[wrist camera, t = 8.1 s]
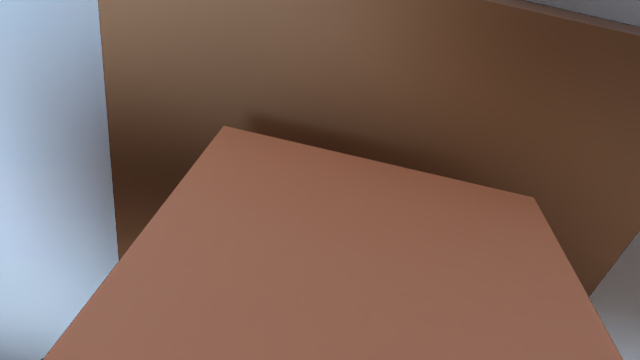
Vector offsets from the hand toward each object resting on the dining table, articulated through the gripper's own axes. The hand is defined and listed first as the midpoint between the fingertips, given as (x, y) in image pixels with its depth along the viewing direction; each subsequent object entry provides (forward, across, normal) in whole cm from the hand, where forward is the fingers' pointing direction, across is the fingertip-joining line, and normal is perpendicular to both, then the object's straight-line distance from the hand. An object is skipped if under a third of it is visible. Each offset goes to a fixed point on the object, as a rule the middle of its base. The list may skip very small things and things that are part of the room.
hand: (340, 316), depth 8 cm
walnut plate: (+4, 0, 0) cm, 4 cm away
